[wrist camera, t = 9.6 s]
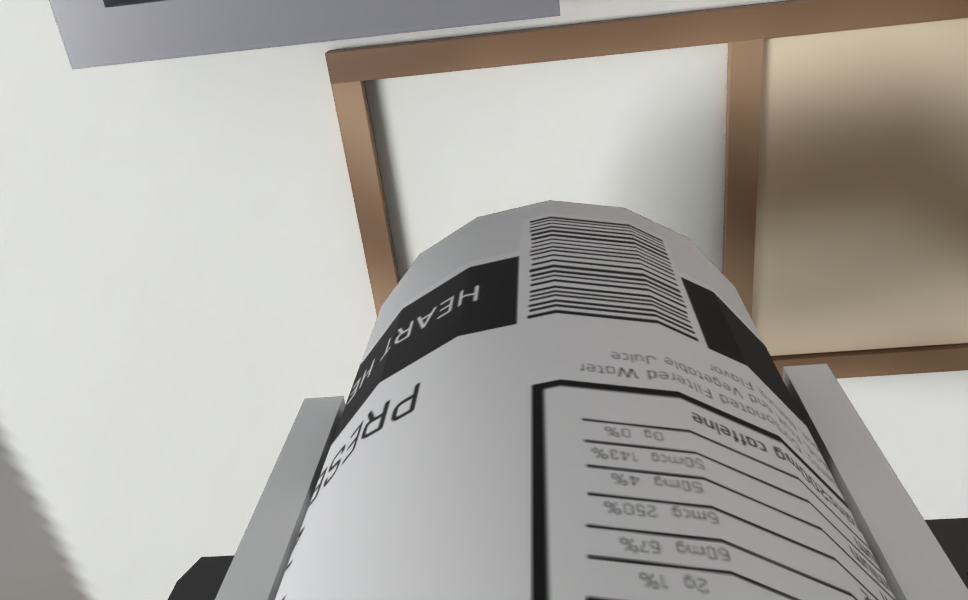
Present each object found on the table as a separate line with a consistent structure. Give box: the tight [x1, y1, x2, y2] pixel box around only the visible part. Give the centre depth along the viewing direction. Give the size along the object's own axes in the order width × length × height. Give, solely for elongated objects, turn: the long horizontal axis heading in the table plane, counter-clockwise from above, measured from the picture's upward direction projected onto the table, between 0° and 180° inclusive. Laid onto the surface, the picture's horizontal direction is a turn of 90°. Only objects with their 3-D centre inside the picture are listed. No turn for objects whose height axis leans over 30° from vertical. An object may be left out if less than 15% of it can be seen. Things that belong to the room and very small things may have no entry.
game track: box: [325, 0, 968, 379], centre depth 23 cm, size 11×32×1 cm, turn 97°
